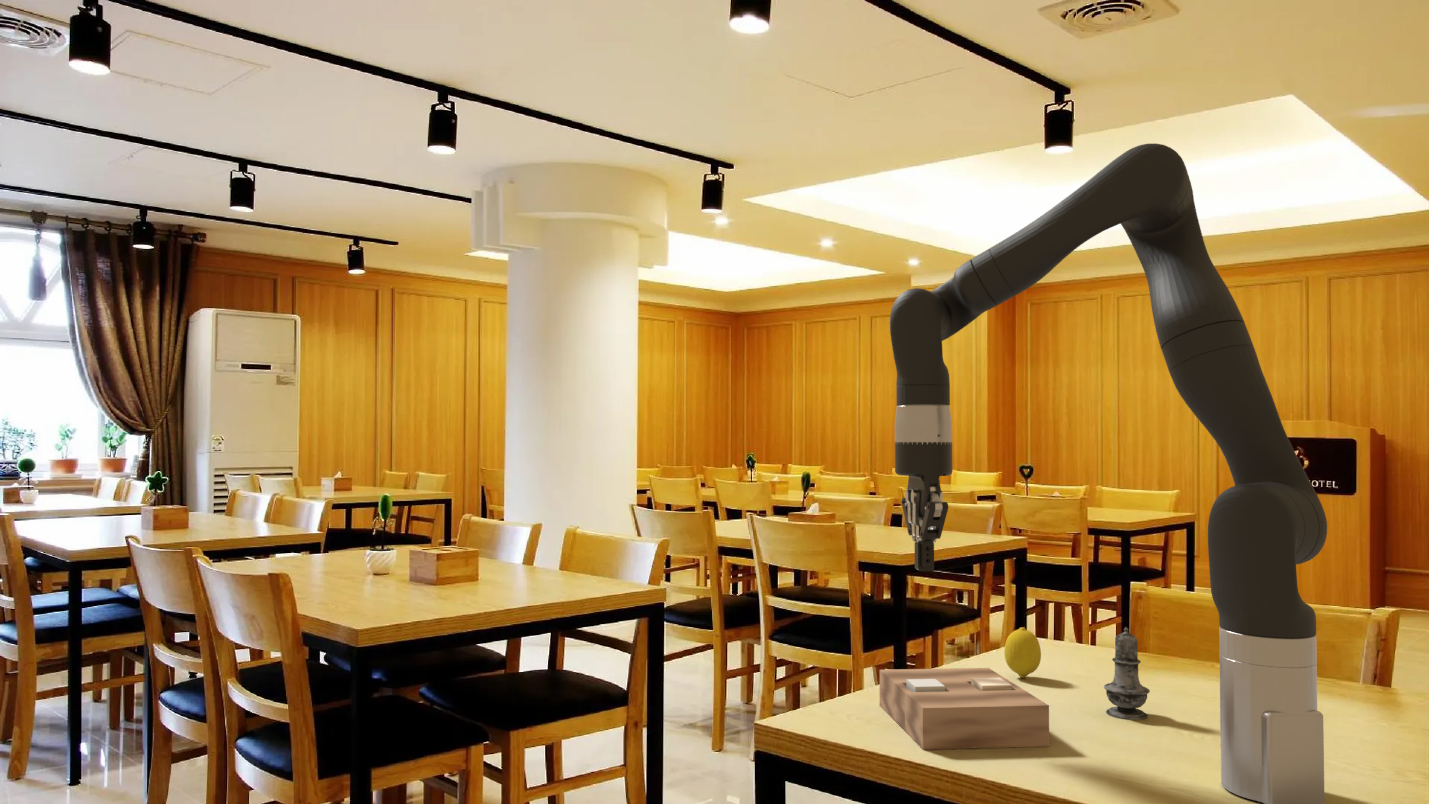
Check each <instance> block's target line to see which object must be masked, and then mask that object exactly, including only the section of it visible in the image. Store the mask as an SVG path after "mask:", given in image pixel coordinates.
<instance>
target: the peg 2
mask: <svg viewBox="0 0 1429 804" xmlns="http://www.w3.org/2000/svg"><path fill="white" fill-rule="evenodd" d="M971 685H972V686H974V687H975V688H976V689H978V690H979V691H999V690H1012V685H1011V684H1009V683H1008V682H1006V681H1004V680H1003V679H1001V678H971Z"/></svg>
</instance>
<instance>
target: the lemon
mask: <svg viewBox="0 0 1429 804" xmlns="http://www.w3.org/2000/svg"><path fill="white" fill-rule="evenodd" d="M1003 651H1004V660H1005V663H1006V664H1007V666H1008V668H1009V669H1010V670H1011V671H1012V672H1014V673H1015V674H1017V675H1018V676H1019V678H1021V679H1025V678H1026V677H1027V676H1028V675H1030V674H1032V673H1034V672H1035V671H1036V670H1037V669H1038V668H1039V666H1040V663H1041V659H1042V650H1041V645H1040V642H1039V639H1038V638H1037V636H1036V635H1035V634H1034V633H1033V632H1031V631H1030V630H1027V628H1025V627H1023V626H1022V627H1019V628H1018V629H1015V630H1013V631H1012V632H1011V633H1009V635H1008V636H1007V638H1006V640H1005V644H1004V650H1003Z"/></svg>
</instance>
